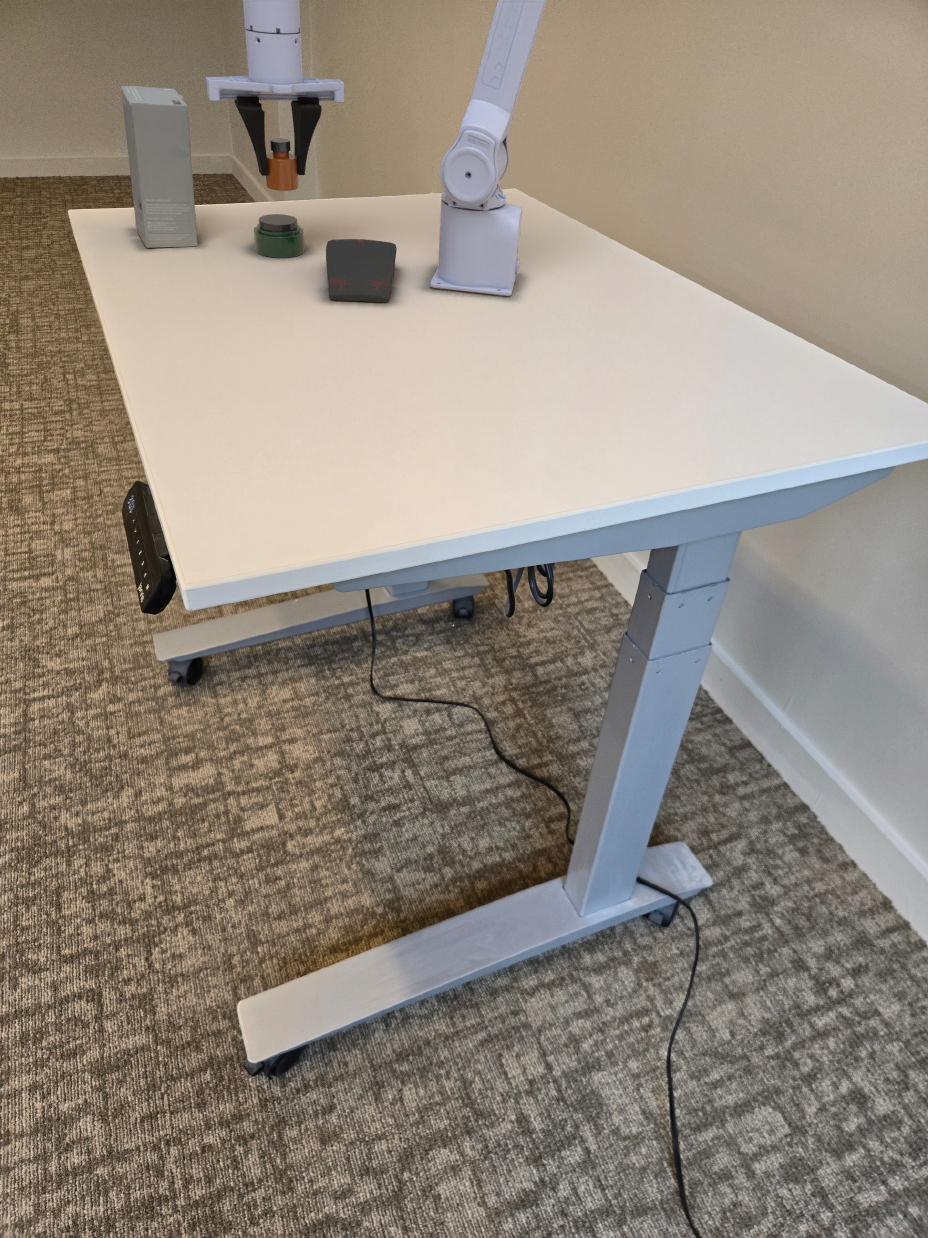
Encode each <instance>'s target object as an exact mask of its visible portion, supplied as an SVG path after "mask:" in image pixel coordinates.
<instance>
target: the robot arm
mask: <svg viewBox="0 0 928 1238" xmlns="http://www.w3.org/2000/svg"><path fill="white" fill-rule="evenodd" d="M547 3H548V0H497V2H496V6H495V9H494V12H493V17H492V20H491V24H490V28H489V30H488V35H487V39H486V41H485V46H484V49H483V54H482V57H481V61H480V65H479V69H478V72H477V76H476V79H475V82H474V86H473V90H472V94H471V98H470V99H469V100H470V101H469V104H468V106H467V109H466V111H465V114H464V116H463V119H462V121H461V124H460V127H459V131H458V134H457V138H456V139H455V141H454V142H453V144H452V146H450V148H449V149H448V150H446V152H445V154H444V155H443V157H442V160H441V161H440V162H441V163H440V167H439V178H440V184H441V186H442V189H443V190H444V191H442V192H441V197H440V198H441V199H440V219H439V238H438V239H439V241H438V260H437V261H438V263H437V264H438V266H437V268H436V270H435V272H434V274H433V276H432V278H431V281H430V283H429V286H430V288H433V289H442V290H451V291H459V292H460V291H461V292H469V293H478V294H487V295H495V296H504V297H505V296H507V297H510V296H512V294H513V291H514V286H515V283H516V278H517V276H518V275H519V271H520V262H521V259H520V258H519V249H520V240H521V230H522V220H523V207H522V206H520V205H516V204H515V205H514V204H511V203H507V202H506V199H507V198H506V194H504V191H503V190H502V187H501V185H499V182H500V181H501V180H502V179H503V177H504V176H505V175H506V172H507V170H508V167H509V164H510V163H509V162H510V152H509V136H510V131H511V128H512V125H513V119H514V113H515V110H516V105H517V102H518V99H519V97H520V96H519V95H520V93H521V88H522V86H523V84H524V83H523V82H524V79H525V76H526V73H527V69H528V66H529V63H530V59H531V56H532V53H533V49H534V47H535V43H536V39H537V36H538V34H539V31H540V26H541V24H542V20H543V17H544V16H543V15H544V13H545V10H546V7H547ZM242 6H243V8H242V9H243V19H244V20H243V22H244V32H245V45H246V46H245V47H246V57H247V58H246V60H247V71H248V73H247V74H248V75H229V76H205V84H206V92H207V93H206V94H207V99H208V100H209V101H210V102H220V101H233V102H234V104H235V107H236V110H237V111H238V113H239V115H240V117H241V119H242V122H243V125H244V126H245V129H246V131H247V133H248V137H249V139H250V141H251V144H252V148H253V151H254V155H255V158H256V163H257V169H258V173H259V174H260V176H261V177H266V176H268V162H267V155H266V154H267V149H266V148H267V147H266V129H265V128H266V125H265V124H266V122H265V120H266V119H265V118H266V116H265V115H266V114H265V113H266V111H264V110H263V107H262V105H263V104H262V103H261V102H260V101H286V102H287V101H288V102H289V101H290V107H291V116H292V125H293V127H292V128H293V136H294V137H293V139H294V142H293V144H294V146H293V147H294V152H293V153H294V154H293V155H296V156H297V163H298V176H306V167H307V159H308V155H309V150H310V146H311V142H312V139H313V136H314V133H315V130H316V129H317V126H318V123H319V121H320V119H321V116H322V111H323V110H322V109H323V108H322V105H321V104H320V102H334V103H345V82H344V81H342V80H341V79H337V78H336V79H335V78H317V77H308V76H307V77H306V76H305V77H304V73H303V72H304V71H303V51H302V50H303V48H302V47H303V46H302V32H301V31H302V30H301V27H302V25H301V7H300V0H242Z"/></svg>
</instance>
